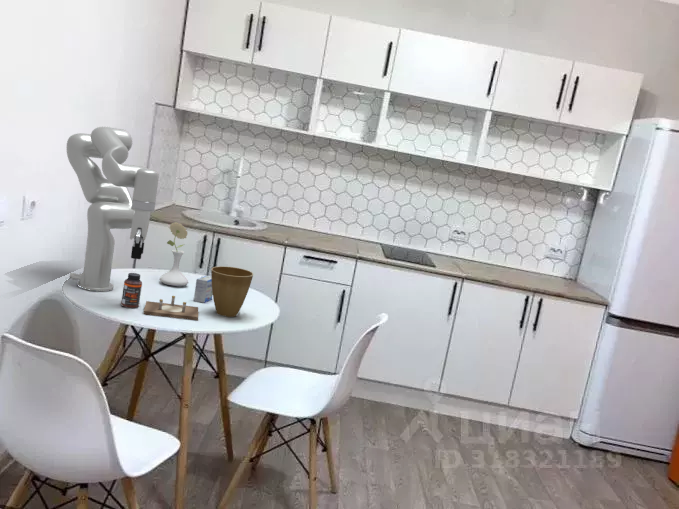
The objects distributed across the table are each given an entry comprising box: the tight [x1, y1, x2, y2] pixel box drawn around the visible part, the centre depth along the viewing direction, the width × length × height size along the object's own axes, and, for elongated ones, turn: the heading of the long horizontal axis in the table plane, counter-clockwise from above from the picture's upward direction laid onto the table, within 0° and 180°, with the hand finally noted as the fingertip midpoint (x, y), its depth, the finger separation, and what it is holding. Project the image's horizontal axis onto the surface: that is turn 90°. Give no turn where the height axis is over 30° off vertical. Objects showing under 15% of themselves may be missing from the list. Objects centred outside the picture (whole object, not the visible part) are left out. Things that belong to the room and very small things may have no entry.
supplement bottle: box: [120, 272, 143, 309], centre depth 235 cm, size 6×6×11 cm
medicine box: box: [193, 275, 213, 304], centre depth 260 cm, size 8×4×9 cm, turn 168°
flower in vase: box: [159, 221, 189, 287], centre depth 275 cm, size 13×11×25 cm
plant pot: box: [210, 265, 254, 318], centre depth 246 cm, size 15×15×16 cm
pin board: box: [142, 295, 199, 321], centre depth 237 cm, size 18×13×5 cm
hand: (137, 255), depth 233 cm, fingers open, 9 cm apart
